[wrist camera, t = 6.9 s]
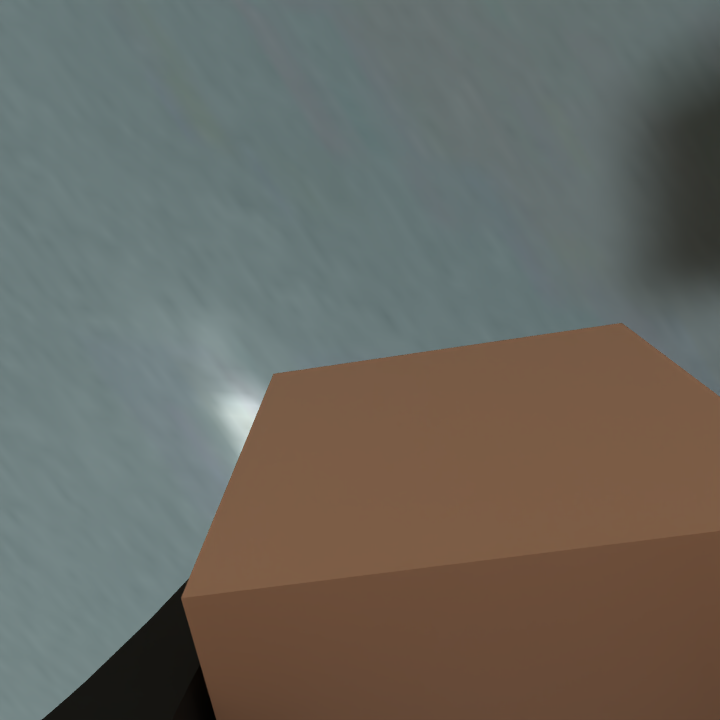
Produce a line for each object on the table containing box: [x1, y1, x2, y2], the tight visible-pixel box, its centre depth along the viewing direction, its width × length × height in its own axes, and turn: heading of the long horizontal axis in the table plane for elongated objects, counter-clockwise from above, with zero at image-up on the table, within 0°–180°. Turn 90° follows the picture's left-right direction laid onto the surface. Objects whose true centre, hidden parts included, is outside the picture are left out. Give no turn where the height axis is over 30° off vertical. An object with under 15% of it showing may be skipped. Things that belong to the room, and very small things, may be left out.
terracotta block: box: [181, 323, 720, 720], centre depth 8 cm, size 5×5×5 cm
